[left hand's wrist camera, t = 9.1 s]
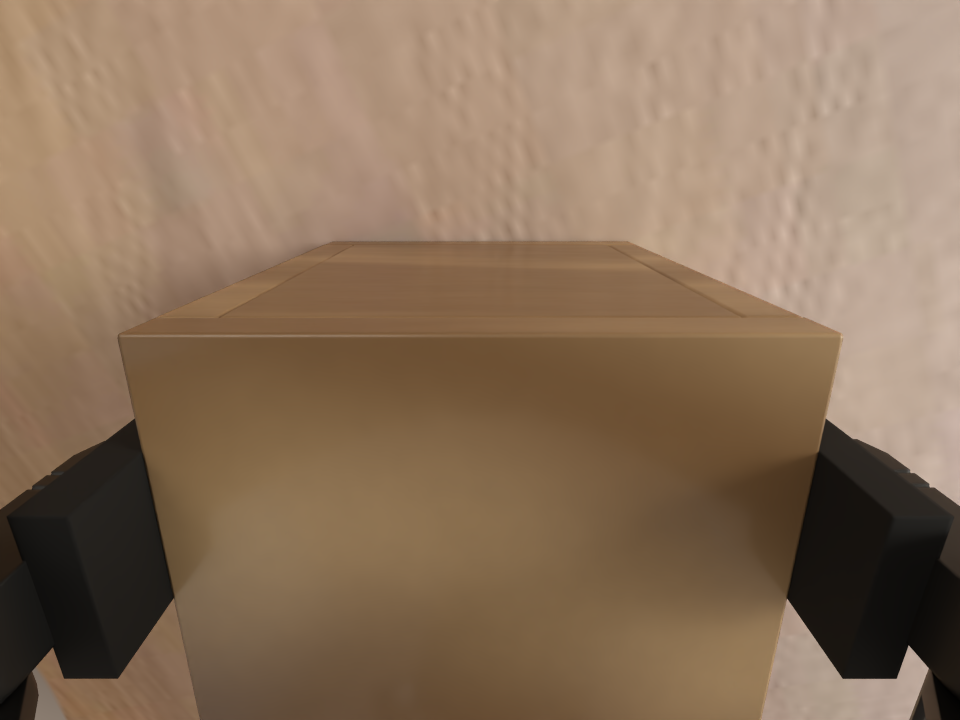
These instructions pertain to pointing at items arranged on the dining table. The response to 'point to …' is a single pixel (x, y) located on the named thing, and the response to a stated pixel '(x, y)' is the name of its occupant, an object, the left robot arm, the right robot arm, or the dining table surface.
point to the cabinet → (480, 483)
